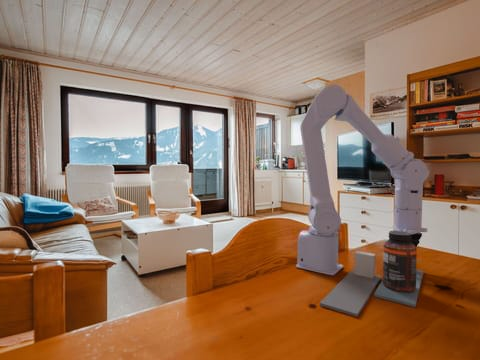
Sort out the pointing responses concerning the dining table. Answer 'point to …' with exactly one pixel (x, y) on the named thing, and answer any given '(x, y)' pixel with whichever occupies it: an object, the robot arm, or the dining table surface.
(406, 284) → the supplement bottle
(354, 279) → the strip empty
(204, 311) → the dining table surface
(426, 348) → the dining table surface
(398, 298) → the strip
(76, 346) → the dining table surface
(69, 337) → the dining table surface
